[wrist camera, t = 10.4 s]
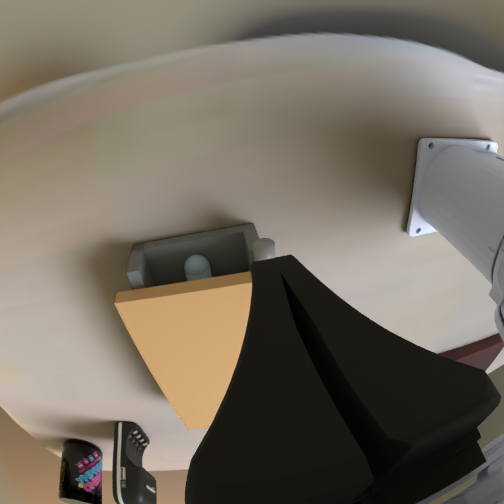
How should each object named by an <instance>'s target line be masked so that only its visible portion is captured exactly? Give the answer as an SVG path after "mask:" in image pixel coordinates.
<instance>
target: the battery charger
mask: <svg viewBox="0 0 504 504" xmlns="http://www.w3.org/2000/svg"><path fill="white" fill-rule="evenodd" d="M148 444H149V438H148V437H147V436H146V434H145V433H144V432H143V430H142V429H141V428H140V426H138V425H137V424H133V423H123V422H119V423H115V430H114V450H113V496H114V499H115V501H116V503H117V504H156V480H155V478H154V477H153V476H152V475H151V474H150V473H148V472H147V471H146V470H145V469H144V468H143V467H142V456H143V453H144V450H145V448H146V447H147V445H148Z"/></svg>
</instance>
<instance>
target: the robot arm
mask: <svg viewBox="0 0 504 504" xmlns="http://www.w3.org/2000/svg"><path fill="white" fill-rule="evenodd" d="M430 143H431V145H430V147H429V144H430ZM496 152H497V143H496V142H494V141H490V140H475V139H454V138H422V139H421V140H420V141H419V143H418V152H417V162H416V171H415V179H414V187H413V194H412V201H411V207H410V213H409V219H408V225H407V234H408V235H409V236H410V237H413V236H418V235H423V234H428V233H433V232H439V233H440V234H441V235H442V236H443V237H444V238H445V239H447V240H448V241H449V242H450V243H451V244H452V245H453V246H454V247H455V248H456V249H457V250H458V251H459V252H460V253H461V254H462V255H464V256H465V257H466V258H467V259H468V260H469V261H470V262H471V263H472V264H473V265H474V266H475V267H476V268H477V269H478V270H479V271H480V272H481V273H482V274H483V275H484V276H485V277H486V279H487V280H488V281H489V282H490V283H491V284H492V288H491V291H490V293H489V296H490V297H491V298H492V299H493V300H494V301H495V302H496V304H497V307H496V309H495V322H496V326H497V329H498V331H499V334H500V336H501V338H502V340H503V342H504V158H503V157H501V156H499V155H498V154H496ZM250 271H251V278H252V294H251V303H250V311H249V317H248V322H247V327H246V332H245V336H244V340H243V344H242V348H241V351H240V355H239V358H238V361H237V364H236V367H235V370H234V373H233V375H232V378H231V381H230V384H229V386H228V389H227V391H226V394H225V396H224V398H223V400H222V402H221V404H220V407H219V409H218V411H217V413H216V415H215V417H214V420H213V422H212V424H211V426H210V427H209V429H208V431H207V433H206V435H205V436H204V438H203V440H202V442H201V443H200V445H199V447H198V449H197V450H196V452H195V454H194V456H193V457H192V459H191V462H190V466H189V471H188V475H187V481H186V487H185V504H427V503H429V502H431V501H433V500H435V499H436V498H438V497H440V496H442V495H444V494H445V493H447V492H449V491H451V490H452V489H454V488H455V487H457V486H459V485H460V484H462V483H464V482H465V481H467V480H468V479H470V478H471V477H473V476H474V475H476V474H477V473H478V475H477V480H476V482H474V483H473V484H471V485H469V486H467V487H466V488H464V489H462V490H461V491H459V492H457V493H455V494H454V495H452V496H450V497H449V498H447V499H445V500H444V501H442V502H441V503H439V504H504V433H503V434H502V435H501V436H499V437H498V438H497V439H495V440H494V441H492V442H491V443H490V444H488V445H487V446H485V447H484V448H482V449H480V447H479V445H478V443H477V440H479V439H480V438H481V435H480V433H479V431H478V429H477V428H476V427H477V426H479V425H480V424H481V423H482V422H483V421H484V420H485V419H486V418H487V417H488V416H489V415H490V414H491V413H492V411H494V409H495V408H496V407H497V406H498V404H499V403H500V400H501V395H500V394H499V392H498V390H497V389H496V387H495V386H494V384H493V383H492V381H491V379H490V378H489V377H488V375H487V374H486V372H485V371H484V370H483V369H480V368H477V367H473V366H470V365H467V364H464V363H461V362H457V361H454V360H451V359H448V358H446V357H443V356H441V355H438V354H436V353H433V352H431V351H429V350H426V349H424V348H422V347H420V346H417V345H415V344H413V343H411V342H409V341H407V340H405V339H403V338H402V337H400V336H398V335H396V334H394V333H392V332H390V331H388V330H387V329H385V328H383V327H382V326H380V325H378V324H377V323H375V322H374V321H372V320H370V319H369V318H367V317H366V316H364V315H363V314H361V313H360V312H359V311H357V310H356V309H354V308H353V307H352V306H350V305H349V304H348V303H346V302H345V301H344V300H343V299H341V298H340V297H339V296H337V295H336V294H335V293H334V292H333V291H331V290H330V289H329V288H328V287H327V286H325V285H324V284H323V283H322V282H321V281H320V280H319V279H317V278H316V277H315V276H314V275H313V274H312V273H311V272H310V271H309V270H308V269H306V268H305V267H304V266H303V265H302V264H301V263H300V262H299V261H298V260H297V259H296V258H295V257H294V256H292V255H287V256H281V257H276V258H271V259H266V260H260V261H255V262H253V263H252V264H251V265H250Z"/></svg>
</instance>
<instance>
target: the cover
mask: <svg viewBox="0 0 504 504" xmlns="http://www.w3.org/2000/svg"><path fill="white" fill-rule="evenodd" d="M251 294H252V278H251V271H249V272H243V273H237V274H231V275H225V276H219V277H212V278H206V279H200V280H194V281H187V282H181V283H174V284H168V285H162V286H155V287H148V288H142V289H135V290H128V291H122V292H117V295H116V299H115V302H114V304H115V306H116V308H117V310H118V312H119V314H120V316H121V318H122V320H123V322H124V324H125V326H126V328H127V330H128V332H129V334H130V336H131V338H132V339H133V341H134V343H135V345H136V347H137V349H138V350H139V352H140V354H141V356H142V358H143V359H144V361H145V363H146V365H147V366H148V368H149V370H150V372H151V373H152V375H153V377H154V378H155V380H156V382H157V383H158V385H159V387H160V388H161V390H162V392H163V393H164V395H165V396H166V398H167V400H168V401H169V403H170V404H171V406H172V407H173V409H174V410H175V412H176V413H177V415H178V416H179V418H180V419H181V421H182V422H183V424H184V425H185V427H186V428H187V429H197V428H206V427H210V426H211V424H212V422H213V420H214V417H215V415H216V413H217V411H218V409H219V407H220V404H221V402H222V400H223V398H224V396H225V394H226V391H227V389H228V386H229V384H230V381H231V378H232V375H233V373H234V370H235V367H236V364H237V361H238V358H239V355H240V351H241V348H242V344H243V340H244V336H245V332H246V327H247V322H248V317H249V311H250V303H251Z"/></svg>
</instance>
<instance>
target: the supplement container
mask: <svg viewBox="0 0 504 504" xmlns="http://www.w3.org/2000/svg"><path fill="white" fill-rule="evenodd" d="M102 460H103V453H102V451H101V449H100V448H99V447H97V446H96V445H94V444H92V443H89V442H86V441H82V440H76V439H69V440H66V441H65V442H64V443H63V449H62V459H61V470H60V483H59V499H60V500H61V501H64V502H67V503H69V504H102Z"/></svg>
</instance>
